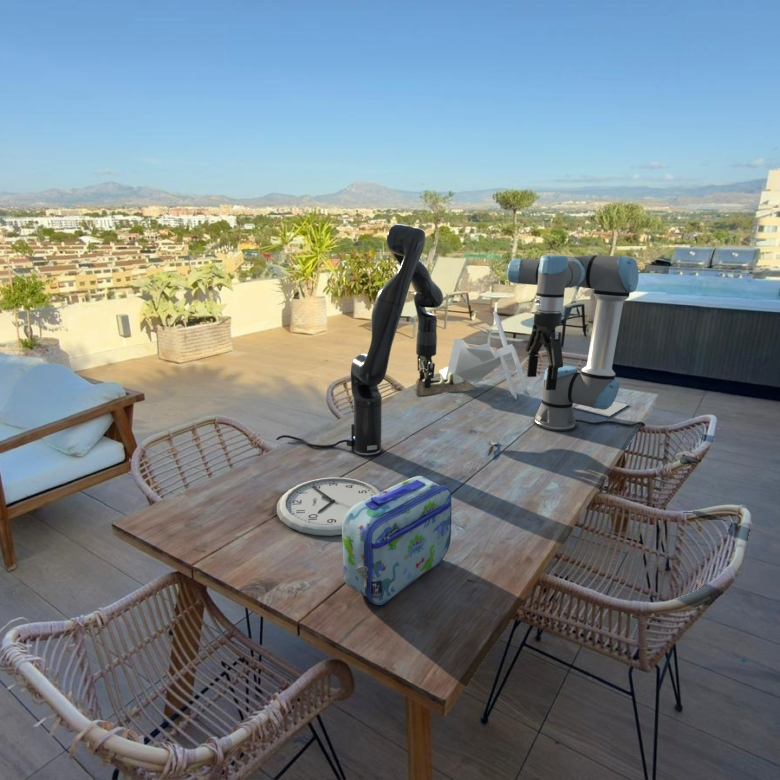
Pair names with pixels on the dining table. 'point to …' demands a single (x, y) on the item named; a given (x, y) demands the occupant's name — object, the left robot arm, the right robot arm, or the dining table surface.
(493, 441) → the fork
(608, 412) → the invitation card
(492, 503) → the dining table surface
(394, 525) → the lunch box
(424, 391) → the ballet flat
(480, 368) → the white plastic object
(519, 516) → the dining table surface
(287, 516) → the wall clock
